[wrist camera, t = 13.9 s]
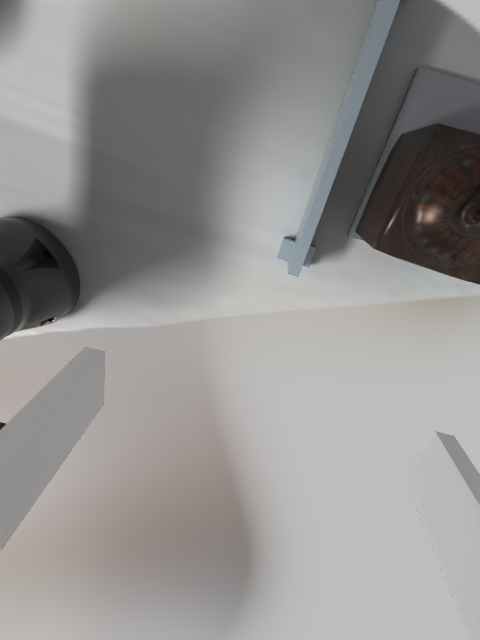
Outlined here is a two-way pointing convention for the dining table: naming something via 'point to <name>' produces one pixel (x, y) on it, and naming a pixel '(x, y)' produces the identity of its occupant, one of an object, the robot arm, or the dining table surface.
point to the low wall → (340, 136)
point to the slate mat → (428, 115)
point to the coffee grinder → (429, 202)
